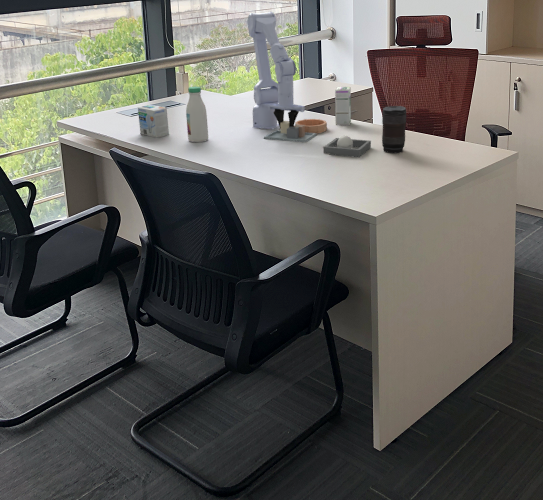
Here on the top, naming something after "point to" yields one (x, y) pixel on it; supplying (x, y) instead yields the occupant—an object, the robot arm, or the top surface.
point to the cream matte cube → (284, 126)
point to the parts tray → (281, 136)
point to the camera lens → (393, 129)
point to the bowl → (313, 125)
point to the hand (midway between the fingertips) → (286, 129)
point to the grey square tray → (361, 144)
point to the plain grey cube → (293, 132)
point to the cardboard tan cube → (301, 130)
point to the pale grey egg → (345, 142)
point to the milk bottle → (196, 116)
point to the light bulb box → (153, 121)
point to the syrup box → (343, 106)
